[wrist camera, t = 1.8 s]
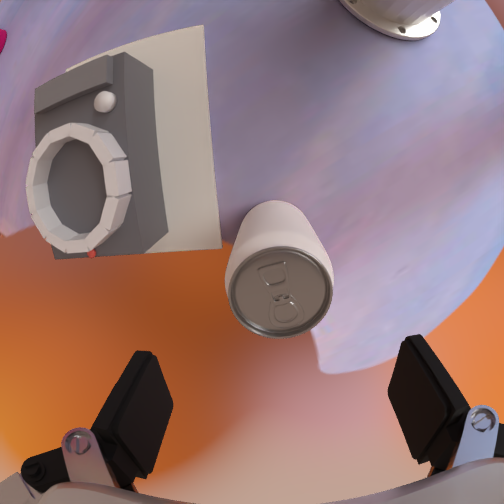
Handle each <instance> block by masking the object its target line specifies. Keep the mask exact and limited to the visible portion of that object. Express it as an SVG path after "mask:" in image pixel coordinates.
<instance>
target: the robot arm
mask: <svg viewBox="0 0 504 504" xmlns="http://www.w3.org/2000/svg"><path fill="white" fill-rule="evenodd" d="M339 1H340V2H341V3H342V5H344V6H345V8H346V9H347V10H348V11H349V12H350V13H352V14H353V15H354V16H355V17H357V18H358V19H359V20H360V21H362V22H363V23H365V24H367V25H368V26H370V27H371V28H373V29H375V30H377V31H379V32H381V33H383V34H386V35H389V36H391V37H394V38H398V39H402V40H421V39H424V38H426V37H428V36H430V35H431V34H433V33H434V32H435V31H436V30H437V29H438V27H439V24H440V10H441V9H443V8H444V7H446V6H447V5H449V4H450V3H452V2H453V1H455V0H339ZM388 397H389V399H390V401H391V404H392V406H393V409H394V411H395V413H396V416H397V419H398V421H399V424H400V426H401V428H402V431H403V433H404V436H405V439H406V442H407V444H408V447H409V450H410V452H411V455H412V457H413V458H414V459H417V462H418V464H422V463H425V462H427V461H430V463H431V466H432V467H431V469H430V471H429V474H428V476H427V478H425V479H422V480H419V481H416V482H413V483H410V484H407V485H403V486H400V487H397V488H394V489H390V490H387V491H383V492H379V493H375V494H371V495H367V496H362V497H358V498H353V499H348V500H342V501H336V502H329V503H323V504H504V424H501V423H499V418H498V415H497V413H496V411H495V410H494V409H492V408H491V407H489V406H486V405H478V406H475V407H474V408H472V409H471V408H470V406H469V404H468V403H467V401H466V399H465V398H464V396H463V395H462V393H461V392H460V390H459V388H458V387H457V385H456V384H455V383H454V381H453V379H452V378H451V377H450V375H449V373H448V372H447V370H446V369H445V368H444V366H443V365H442V363H441V362H440V360H439V359H438V357H437V356H436V355H435V353H434V352H433V351H432V349H431V348H430V346H429V345H428V343H427V342H426V341H425V339H424V338H423V337H422V335H420V334H418V335H413V336H408V337H406V338H405V341H402V343H401V346H400V350H399V353H398V357H397V361H396V364H395V368H394V371H393V374H392V378H391V381H390V384H389V387H388ZM172 409H173V400H172V398H171V395H170V392H169V390H168V387H167V384H166V382H165V380H164V377H163V374H162V371H161V368H160V365H159V362H158V360H157V357H156V356H155V355H153V354H152V353H151V352H150V351H136V352H135V353H134V355H133V356H132V358H131V360H130V361H129V363H128V365H127V366H126V368H125V370H124V372H123V373H122V375H121V377H120V378H119V380H118V382H117V383H116V384H115V386H114V388H113V389H112V391H111V393H110V395H109V396H108V398H107V400H106V402H105V404H104V405H103V407H102V409H101V411H100V412H99V414H98V416H97V418H96V420H95V422H94V423H93V425H92V427H91V429H90V430H88V429H86V428H75V429H72V430H70V431H69V432H67V433H66V434H65V436H64V437H63V440H62V442H61V444H62V447H60V448H57V449H54V450H51V451H48V452H45V453H42V454H39V455H36V456H33V457H30V458H28V459H27V460H26V461H24V463H23V465H22V468H21V473H20V474H19V473H18V472H16V473H14V474H13V475H12V476H10V477H8V478H7V479H5V480H4V481H2V482H1V483H0V504H194V503H187V502H181V501H174V500H169V499H164V498H158V497H153V496H148V495H144V494H140V493H138V491H137V489H136V487H135V485H134V483H133V482H134V479H135V477H139V478H143V479H146V478H147V475H148V474H150V473H151V472H152V471H153V468H154V465H155V462H156V459H157V456H158V452H159V449H160V446H161V443H162V440H163V437H164V434H165V431H166V428H167V425H168V421H169V419H170V416H171V413H172Z"/></svg>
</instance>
